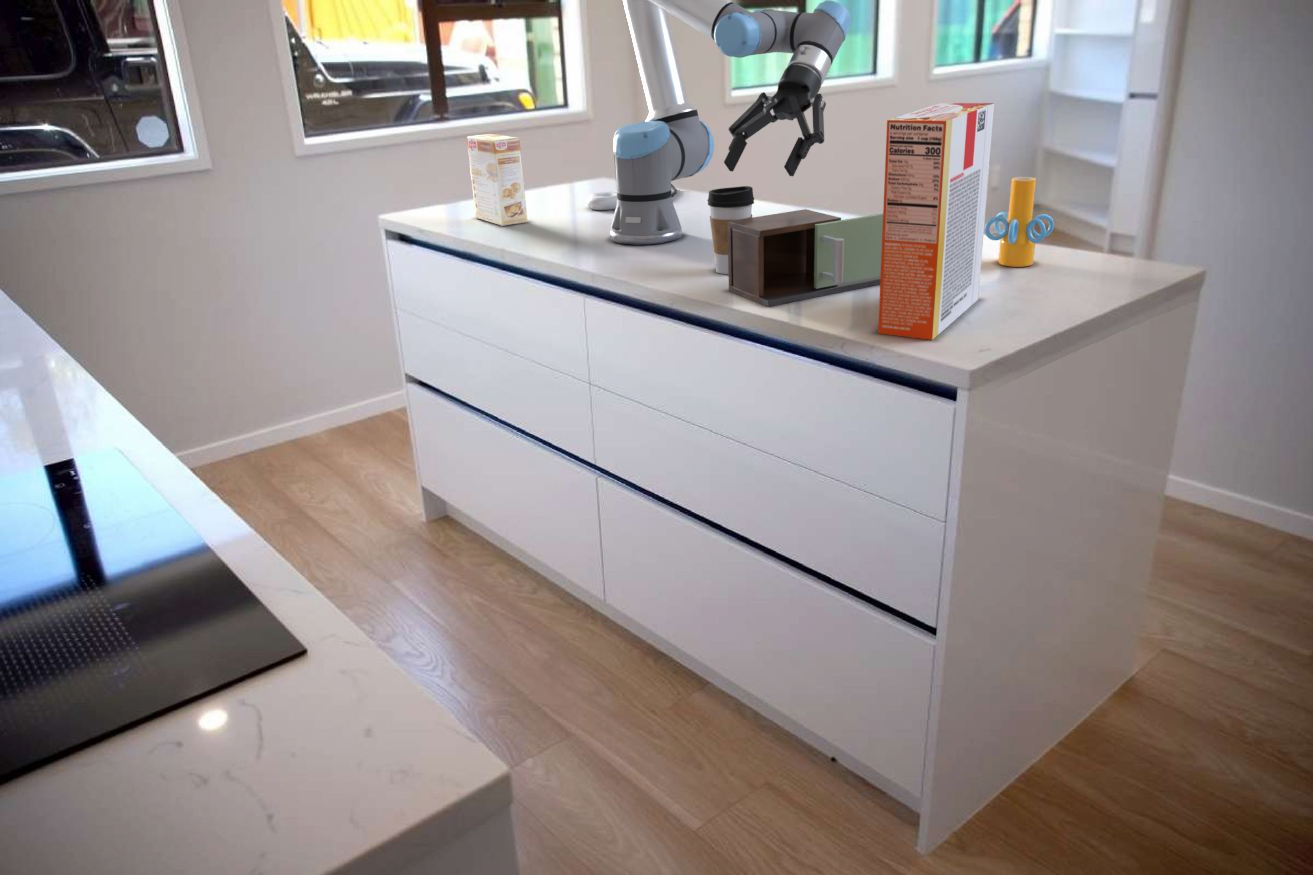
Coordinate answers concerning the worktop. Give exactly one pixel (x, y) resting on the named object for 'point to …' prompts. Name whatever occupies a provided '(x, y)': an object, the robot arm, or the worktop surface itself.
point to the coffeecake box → (497, 178)
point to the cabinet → (779, 258)
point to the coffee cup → (727, 218)
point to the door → (848, 250)
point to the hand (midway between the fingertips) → (757, 169)
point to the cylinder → (1019, 225)
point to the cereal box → (933, 216)
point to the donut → (602, 201)
